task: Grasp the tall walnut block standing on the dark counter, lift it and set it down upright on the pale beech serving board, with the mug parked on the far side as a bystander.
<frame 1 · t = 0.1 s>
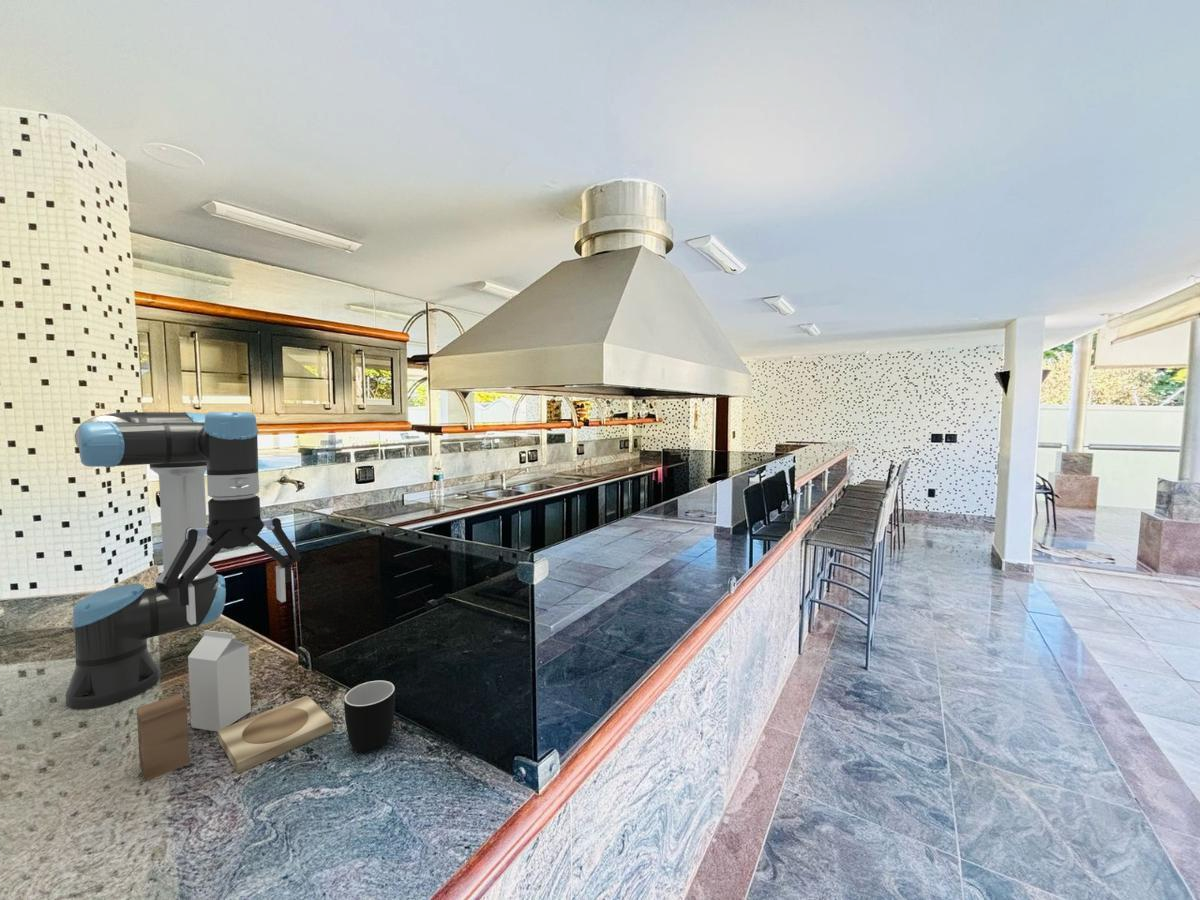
hand: (239, 610, 89), 28 cm above the countertop, fingers open, 13 cm apart
board: (276, 735, 96), on the countertop
milk carton: (222, 720, 101), on the countertop
block: (164, 764, 88), on the countertop
mug: (366, 740, 95), on the countertop
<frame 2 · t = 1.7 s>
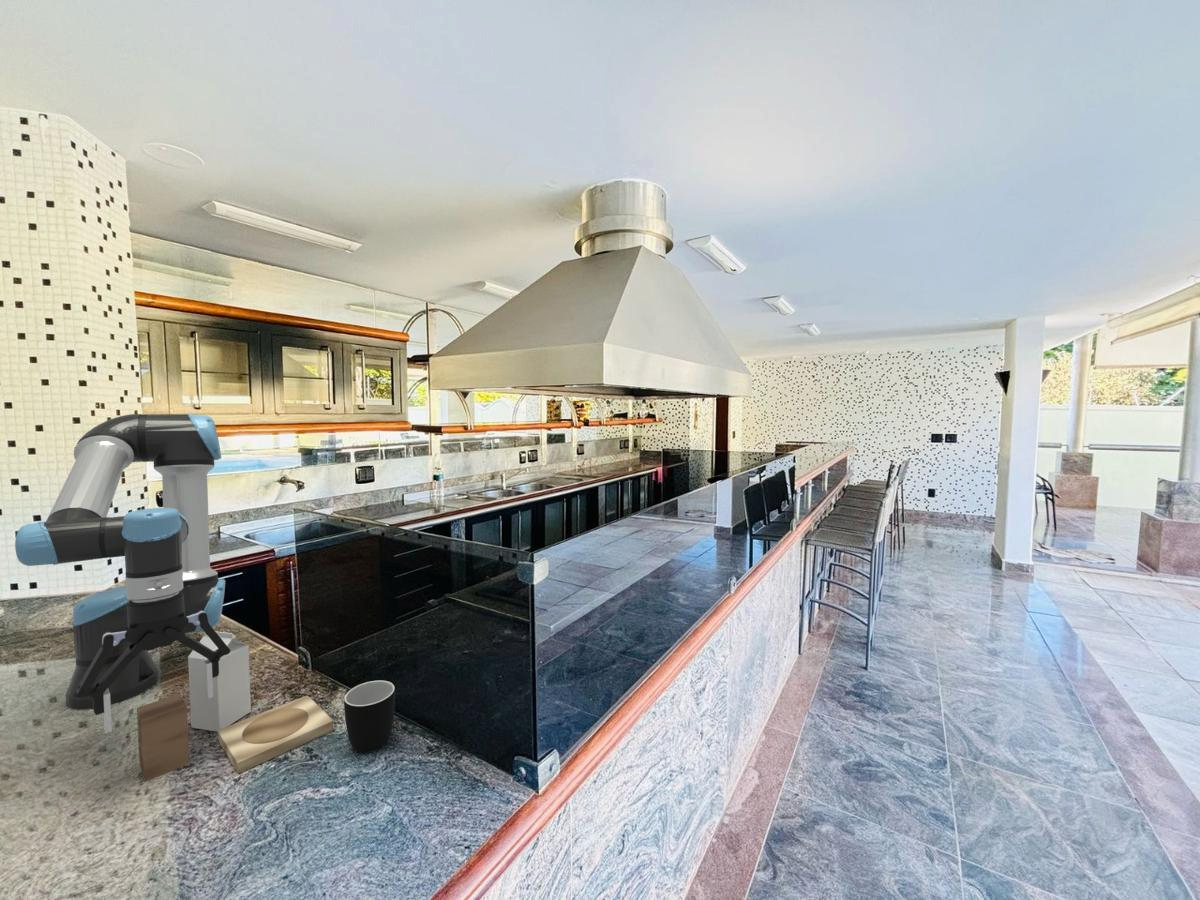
hand: (161, 711, 87), 10 cm above the countertop, fingers open, 13 cm apart
nothing on the countertop moved.
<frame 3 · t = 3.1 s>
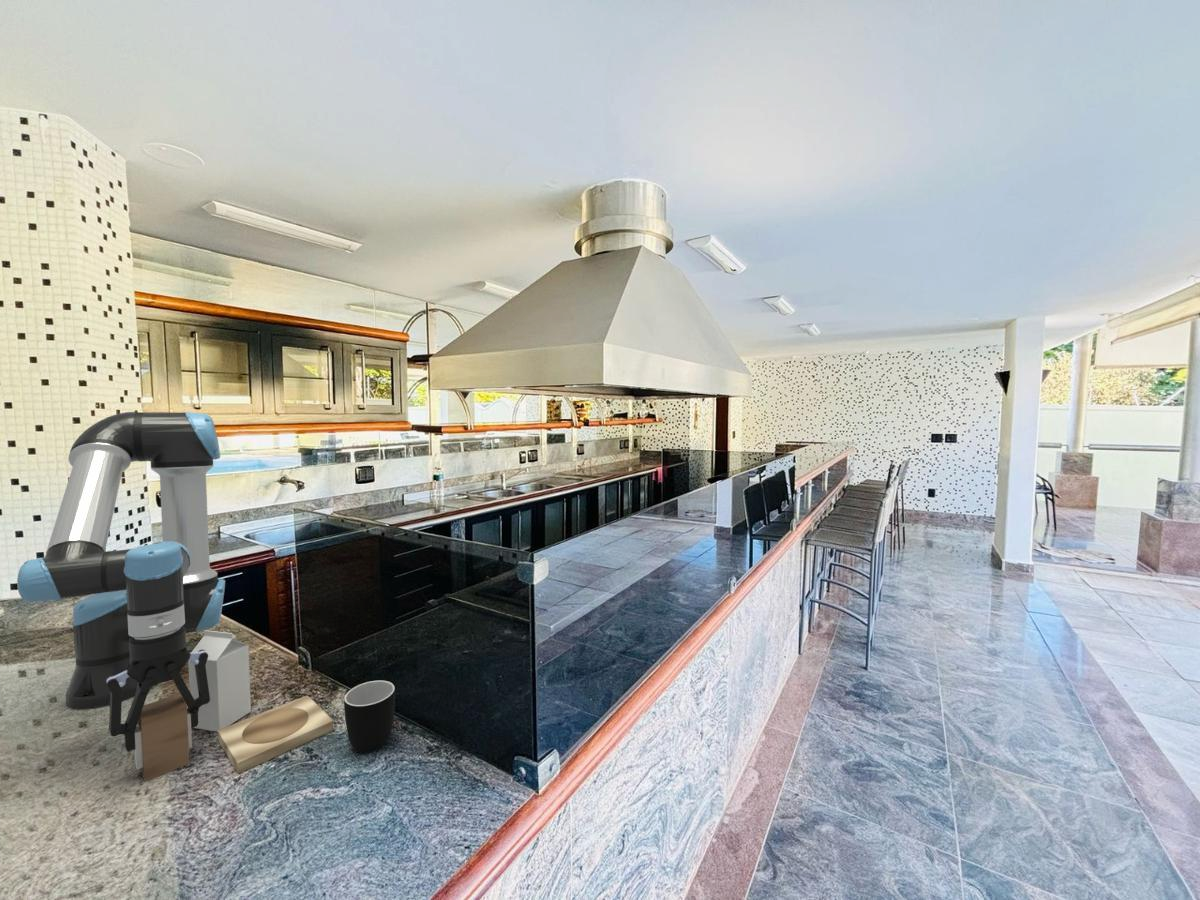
hand: (164, 754, 88), 2 cm above the countertop, fingers closed on block, 6 cm apart
block: (164, 764, 88), on the countertop, touching gripper
everything else where it was.
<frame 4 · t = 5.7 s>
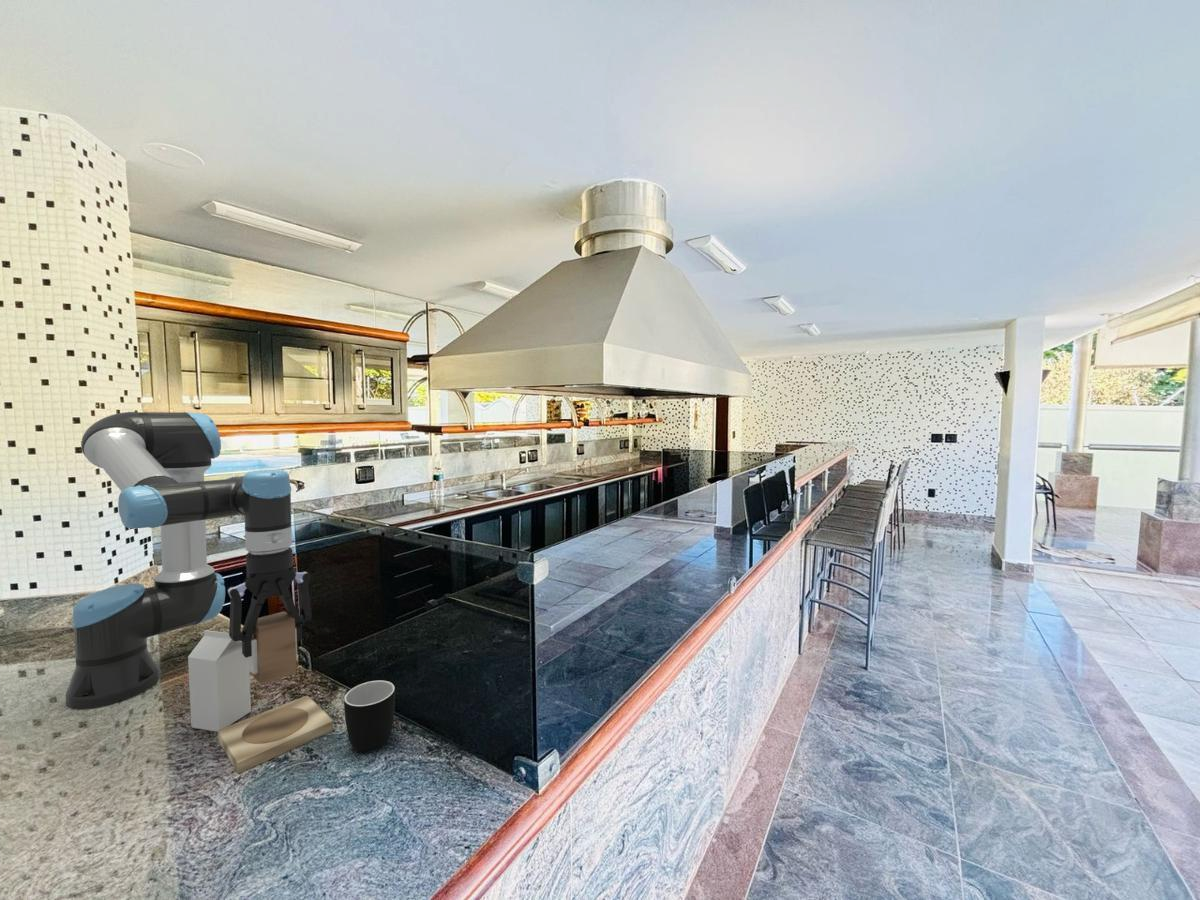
hand: (273, 664, 96), 15 cm above the countertop, fingers closed on block, 6 cm apart
block: (274, 673, 96), point 13 cm above the countertop, touching gripper
everything else where it was.
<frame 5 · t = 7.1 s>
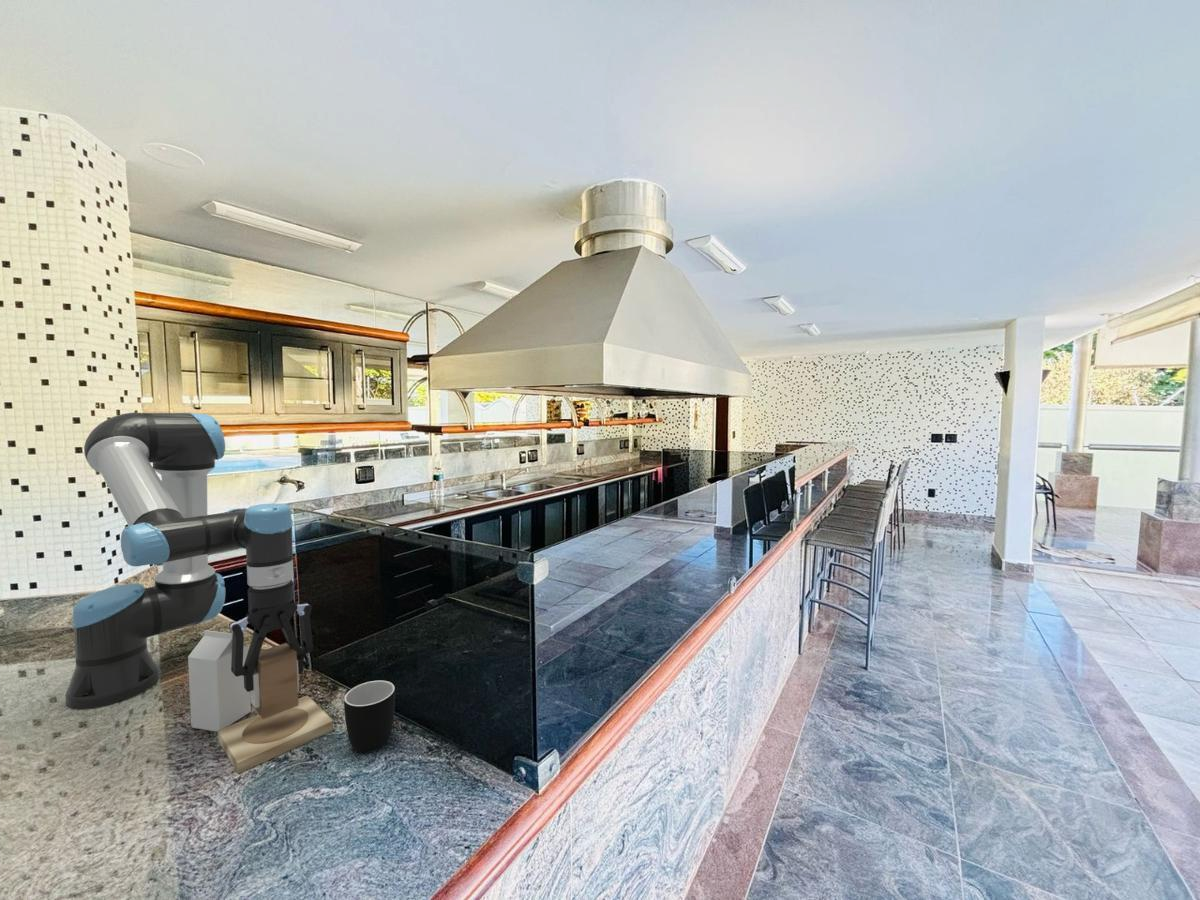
hand: (275, 696, 96), 8 cm above the countertop, fingers closed on block, 6 cm apart
block: (276, 706, 96), point 6 cm above the countertop, touching gripper
everything else where it was.
when the fingers open (5 cm above the countertop, at t = 8.2 s): block stays where it is, resting on board.
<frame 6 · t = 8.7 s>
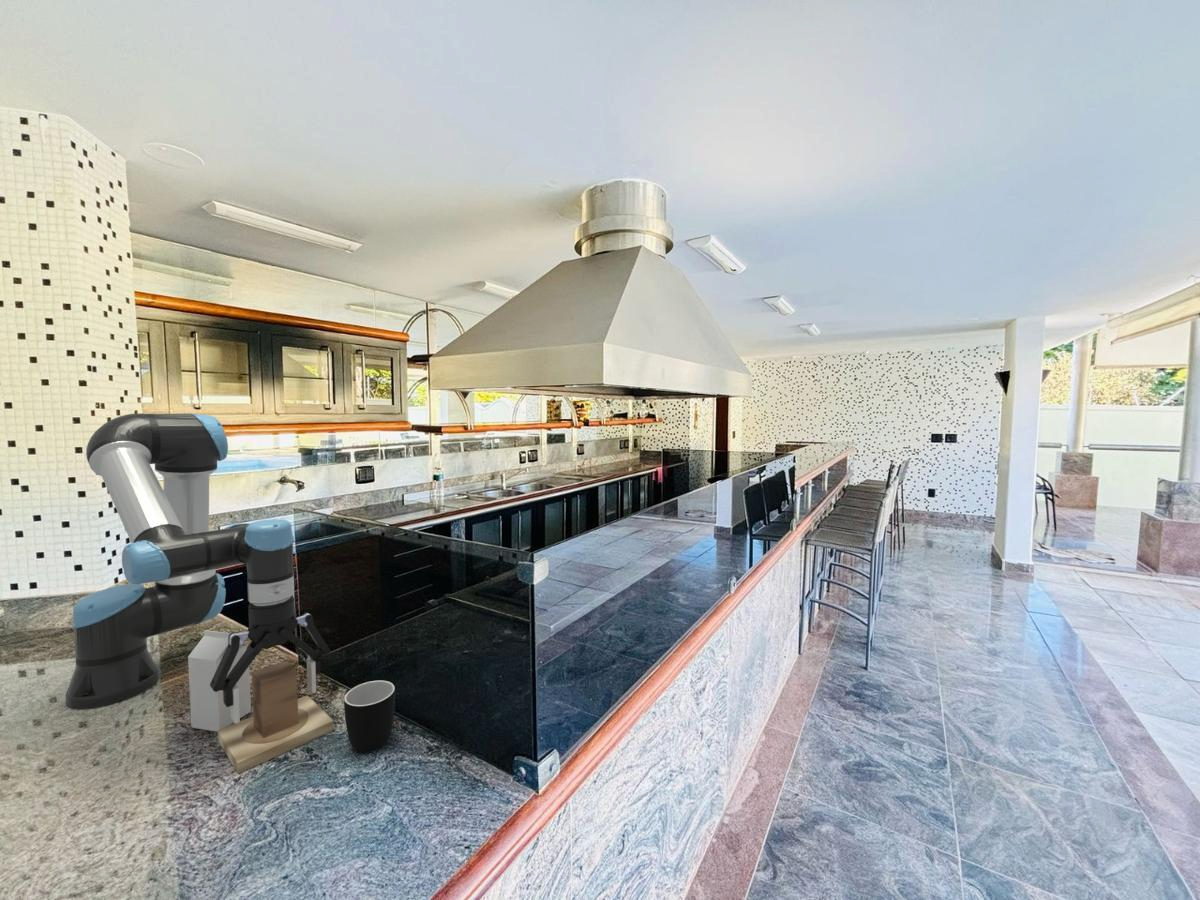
hand: (275, 704, 96), 6 cm above the countertop, fingers open, 12 cm apart
block: (276, 724, 96), point 2 cm above the countertop, touching board
everything else where it was.
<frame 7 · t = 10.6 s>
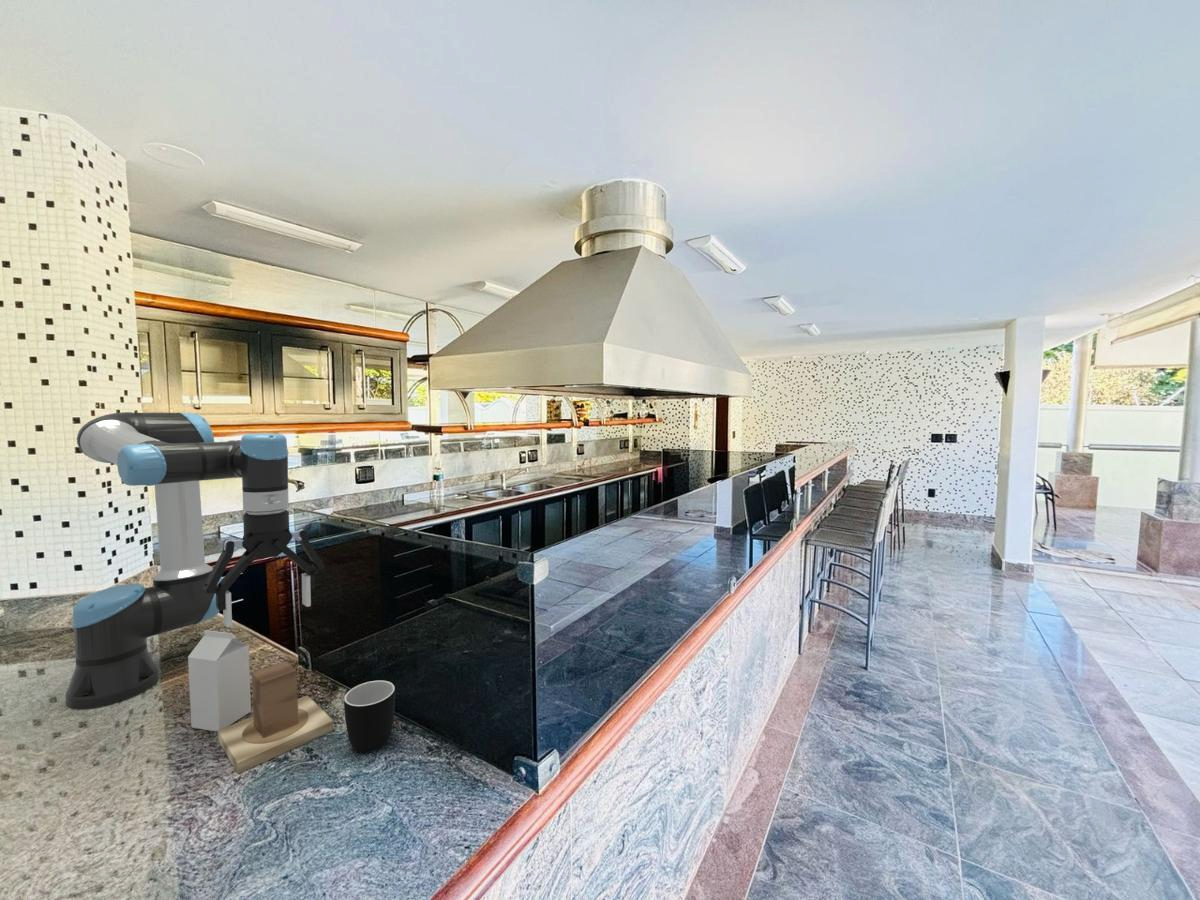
hand: (269, 614, 98), 24 cm above the countertop, fingers open, 13 cm apart
nothing on the countertop moved.
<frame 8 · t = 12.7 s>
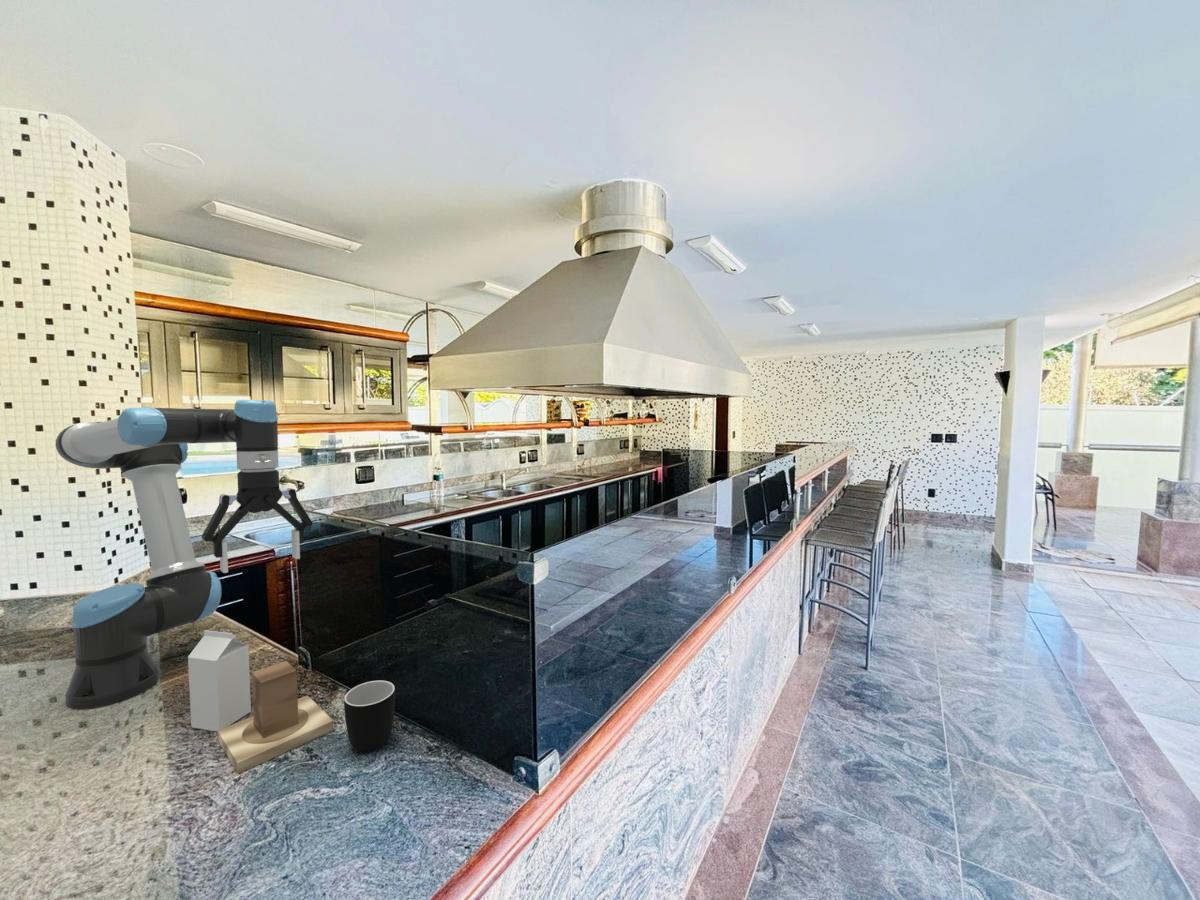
hand: (261, 564, 108), 31 cm above the countertop, fingers open, 13 cm apart
nothing on the countertop moved.
at the end: block inside the target area on the board (0.0 cm from its centre), point 2.2 cm above the board's base; block tilted 0°; the gripper is holding nothing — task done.
